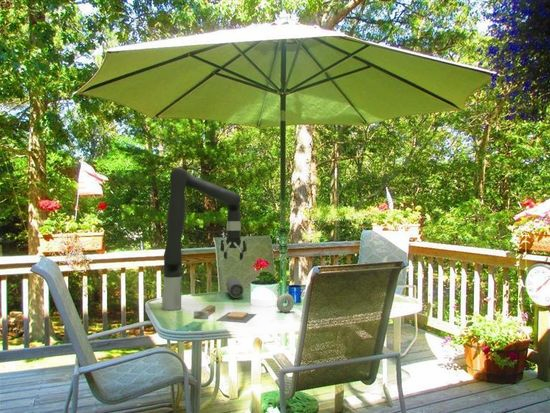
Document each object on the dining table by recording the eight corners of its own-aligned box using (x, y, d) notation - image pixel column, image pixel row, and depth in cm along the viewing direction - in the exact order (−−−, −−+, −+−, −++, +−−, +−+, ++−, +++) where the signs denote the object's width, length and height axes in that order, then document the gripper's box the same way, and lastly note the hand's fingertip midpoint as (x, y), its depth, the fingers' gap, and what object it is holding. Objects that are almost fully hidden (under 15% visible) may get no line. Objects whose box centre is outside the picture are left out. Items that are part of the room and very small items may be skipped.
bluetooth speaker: (225, 292, 295) (225, 277, 295) (240, 292, 297) (240, 276, 297) (228, 300, 273) (228, 283, 273) (244, 299, 274) (244, 282, 274)
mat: (215, 321, 222) (215, 320, 222) (228, 313, 240) (228, 312, 240) (245, 324, 219) (245, 322, 219) (256, 315, 236) (256, 314, 236)
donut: (291, 310, 247) (291, 292, 247) (295, 312, 244) (295, 293, 244) (275, 312, 242) (275, 293, 242) (278, 314, 239) (278, 294, 239)
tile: (232, 314, 235) (226, 318, 226) (232, 311, 235) (226, 315, 226) (247, 315, 233) (242, 319, 224) (247, 312, 233) (242, 316, 224)
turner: (193, 319, 227) (193, 311, 227) (206, 312, 242) (206, 304, 242) (207, 320, 225) (207, 312, 225) (218, 313, 240) (218, 305, 240)
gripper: (218, 229, 252) (218, 259, 252) (244, 230, 248) (243, 260, 248) (223, 228, 259) (223, 258, 259) (248, 229, 256) (248, 259, 256)
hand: (233, 259), depth 254 cm, fingers open, 8 cm apart
